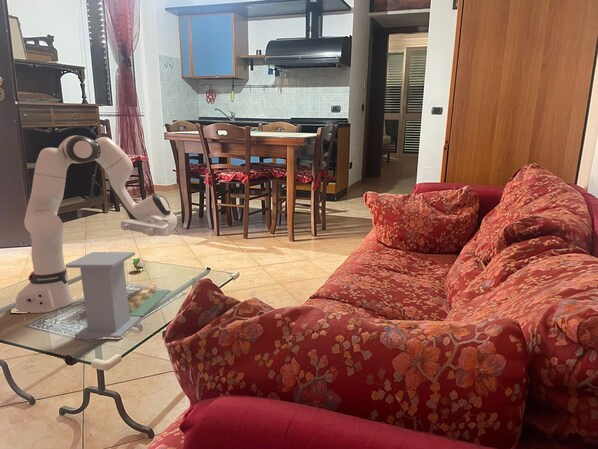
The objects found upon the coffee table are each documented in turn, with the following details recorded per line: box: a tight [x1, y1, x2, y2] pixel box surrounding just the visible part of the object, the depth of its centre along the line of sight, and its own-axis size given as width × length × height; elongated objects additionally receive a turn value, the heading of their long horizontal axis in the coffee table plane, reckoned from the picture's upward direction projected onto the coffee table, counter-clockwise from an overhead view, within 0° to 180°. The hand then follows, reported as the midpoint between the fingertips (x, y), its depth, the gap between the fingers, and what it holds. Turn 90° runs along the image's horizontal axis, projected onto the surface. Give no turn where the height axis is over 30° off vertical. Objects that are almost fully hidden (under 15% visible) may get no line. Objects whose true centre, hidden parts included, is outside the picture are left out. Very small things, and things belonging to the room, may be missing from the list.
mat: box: [127, 289, 171, 317], centre depth 181 cm, size 28×14×1 cm, turn 175°
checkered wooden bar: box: [128, 284, 157, 311], centre depth 182 cm, size 22×3×3 cm, turn 174°
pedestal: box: [65, 251, 143, 340], centre depth 155 cm, size 16×16×26 cm
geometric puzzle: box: [130, 257, 147, 272], centre depth 226 cm, size 7×7×8 cm
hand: (134, 230), depth 182 cm, fingers open, 8 cm apart
